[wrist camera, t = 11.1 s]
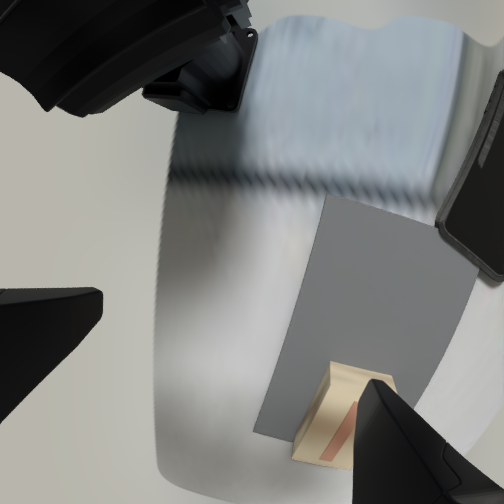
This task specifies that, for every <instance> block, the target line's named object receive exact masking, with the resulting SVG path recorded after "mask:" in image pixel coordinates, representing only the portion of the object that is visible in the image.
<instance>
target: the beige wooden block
mask: <svg viewBox="0 0 504 504" xmlns="http://www.w3.org/2000/svg"><path fill="white" fill-rule="evenodd" d="M372 378H374V379H379V380H383V381H384V382H385V383H386V384H387V385H388V386H389V387H391V388H392V389H393V390H394V391H395V392H396V393H397V391H396V387H395V384H394V381H393V378H392V376H391V375H386V374H382V373H377V372H373V371H369V370H365V369H360V368H356V367H352V366H348V365H344V364H340V363H336V362H332V361H330V363H329V365H328V367H327V370H326V372H325V374H324V376H323V378H322V381H321V383H320V385H319V387H318V389H317V391H316V394H315V396H314V398H313V400H312V402H311V404H310V406H309V408H308V410H307V412H306V414H305V416H304V418H303V420H302V422H301V424H300V426H299V428H298V430H297V432H296V434H295V440H294V446H293V452H292V458H291V459H293V460H298V461H302V462H307V463H312V464H317V465H322V466H327V467H333V468H339V469H345V470H351V469H352V468H353V443H354V434H355V425H356V415H357V405H358V401H359V399H360V397H361V395H362V393H363V391H364V389H365V387H366V385H367V383H368V381H369V380H370V379H372Z"/></svg>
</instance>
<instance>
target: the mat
mask: <svg viewBox="0 0 504 504" xmlns="http://www.w3.org/2000/svg"><path fill="white" fill-rule="evenodd" d="M479 269H480V267H479V266H477V265H476V264H475V263H474V262H473V261H472V260H470V259H469V258H468V257H467V256H466V255H464V254H463V253H462V252H461V251H459V250H458V249H457V248H456V247H454V246H453V245H452V244H451V243H449V242H448V241H447V240H446V239H444V238H443V236H442V235H441V234H440V231H439V229H438V228H435V227H432V226H430V225H427V224H424V223H421V222H418V221H415V220H412V219H409V218H406V217H403V216H400V215H397V214H394V213H391V212H388V211H384V210H381V209H378V208H375V207H372V206H368V205H365V204H362V203H358V202H355V201H351V200H348V199H345V198H341V197H338V196H334V195H330V194H327V195H326V199H325V203H324V207H323V211H322V215H321V219H320V222H319V226H318V230H317V234H316V237H315V241H314V244H313V248H312V252H311V255H310V259H309V262H308V266H307V269H306V273H305V276H304V279H303V283H302V286H301V290H300V293H299V296H298V300H297V303H296V306H295V309H294V313H293V316H292V319H291V322H290V325H289V328H288V332H287V335H286V338H285V341H284V344H283V347H282V350H281V353H280V356H279V359H278V362H277V365H276V368H275V371H274V374H273V377H272V380H271V382H270V385H269V388H268V391H267V394H266V397H265V399H264V402H263V405H262V408H261V411H260V413H259V416H258V419H257V421H256V424H255V427H254V430H253V432H256V433H260V434H263V435H267V436H271V437H274V438H278V439H282V440H286V441H290V442H294V440H295V434H296V432H297V430H298V428H299V426H300V424H301V422H302V420H303V418H304V416H305V414H306V412H307V410H308V408H309V406H310V404H311V402H312V400H313V398H314V396H315V394H316V391H317V389H318V387H319V385H320V383H321V381H322V378H323V376H324V374H325V372H326V370H327V367H328V365H329V363H330V361H332V362H336V363H340V364H344V365H348V366H352V367H356V368H360V369H365V370H369V371H373V372H377V373H382V374H386V375H391V376H392V378H393V381H394V384H395V387H396V391H397V394H398V395H399V396H400V397H401V398H402V399H403V400H404V401H405V402H406V403H407V404H408V405H409V406H410V407H411V408H412V409H414V407H415V405H416V404H417V402H418V401H419V399H420V397H421V396H422V394H423V392H424V391H425V389H426V387H427V385H428V384H429V382H430V380H431V378H432V376H433V375H434V373H435V371H436V369H437V367H438V365H439V363H440V361H441V359H442V358H443V356H444V354H445V352H446V350H447V347H448V345H449V343H450V341H451V339H452V337H453V335H454V333H455V330H456V328H457V326H458V324H459V321H460V319H461V317H462V314H463V312H464V310H465V307H466V305H467V302H468V300H469V297H470V294H471V292H472V289H473V286H474V284H475V281H476V278H477V275H478V272H479Z"/></svg>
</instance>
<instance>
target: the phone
mask: <svg viewBox="0 0 504 504" xmlns="http://www.w3.org/2000/svg"><path fill="white" fill-rule="evenodd" d="M435 226H436V228H438V229H439V231H440V234H441V235H442V236H443V238H444V239H446V240H447V241H448V242H449V243H451V244H452V245H453V246H454V247H456V248H457V249H458V250H459V251H461V252H462V253H463V254H464V255H466V256H467V257H468V258H469V259H470V260H472V261H473V262H474V263H475V264H476V265H477V266H479V267H480V269H481V270H482V271H483V272H485V273H486V274H487V275H488V276H489V277H490V278H492V279H494V280H495V281H497V282H503V281H504V70H502V71H501V72H499V74H498V77H497V80H496V83H495V86H494V89H493V91H492V94H491V96H490V99H489V102H488V104H487V107H486V109H485V113H484V116H483V119H482V121H481V124H480V126H479V128H478V131H477V133H476V136H475V138H474V140H473V143H472V145H471V147H470V149H469V152H468V154H467V156H466V158H465V160H464V162H463V165H462V167H461V169H460V171H459V173H458V175H457V177H456V179H455V181H454V183H453V185H452V187H451V189H450V191H449V193H448V195H447V197H446V199H445V200H444V202H443V204H442V206H441V208H440V210H439V212H438V213H437V216H436V220H435Z"/></svg>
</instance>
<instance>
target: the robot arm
mask: <svg viewBox="0 0 504 504" xmlns="http://www.w3.org/2000/svg"><path fill="white" fill-rule="evenodd" d="M248 1H249V0H0V72H2V73H3V74H5V75H7V76H9V77H11V78H12V79H14V80H15V81H17V82H18V83H20V84H21V85H22V86H23V87H24V88H25V89H26V90H28V91H29V92H30V93H31V94H32V95H33V96H34V98H35V99H36V100H37V102H38V103H39V104H40V106H41V107H42V108H43V109H44V110H45V111H46V112H49V111H50V110H51V109H52V108H53V107H55V106H57V107H58V108H60V109H62V110H64V111H65V112H67V113H69V114H72V115H75V116H78V117H82V118H83V117H85V116H87V115H88V114H97V113H103V112H104V111H105V110H107V109H109V108H110V107H112V106H113V105H115V104H116V103H118V102H119V101H121V100H122V99H124V98H125V97H127V96H129V95H130V94H132V93H133V92H135V91H137V90H138V89H140V88H143V91H142V96H143V97H144V98H145V99H147V100H150V101H152V102H154V103H156V104H159V105H161V106H163V107H165V108H167V109H170V110H172V111H179V112H188V113H196V114H205V113H207V111H208V110H213V111H221V112H227V113H234V112H236V111H237V110H238V109H239V106H240V102H241V98H242V94H243V91H244V87H245V83H246V79H247V75H248V72H249V68H250V64H251V61H252V57H253V53H254V50H255V46H256V43H257V39H258V34H257V32H256V30H255V29H252V28H247V27H249V26H251V23H250V21H249V19H248V18H250V17H252V16H251V13H250V10H249V8H248V5H247V3H248ZM249 34H253V36H251V37H247V36H248V35H249ZM232 102H233V103H234V106H233V107H232V108H229V107H228V105H229V104H230V103H232ZM102 314H103V293H102V291H100V290H98V289H96V288H94V287H79V288H24V289H23V288H20V289H0V424H1V423H2V421H3V420H4V419H5V418H6V417H7V416H8V415H9V414H10V413H11V412H12V411H13V410H14V409H15V408H16V407H17V406H18V405H19V403H20V402H22V401H23V399H24V398H25V397H26V396H27V395H28V394H29V393H30V392H31V391H32V390H33V389H34V388H35V387H36V386H37V385H38V384H39V383H40V382H41V381H42V380H43V379H44V378H45V377H46V376H47V375H48V374H49V373H50V372H51V371H52V370H53V369H55V368H56V366H58V365H59V364H60V362H61V361H62V360H64V359H65V358H66V357H67V356H68V355H69V354H70V353H71V352H72V351H73V350H74V349H75V348H76V347H77V346H78V345H79V344H80V342H81V341H82V340H83V339H84V338H85V336H87V334H88V333H89V332H90V331H91V330H92V328H93V327H94V326H95V325H96V324H97V322H98V321H99V320H100V319H101V317H102ZM352 504H504V489H503V488H502V487H500V486H499V485H497V484H496V483H495V482H494V481H492V480H491V479H490V478H489V477H487V476H486V475H485V474H483V473H482V472H481V471H480V470H479V469H477V468H476V467H475V466H474V465H472V464H471V463H470V462H469V461H468V460H466V459H465V458H464V457H463V456H462V455H461V454H460V453H459V452H457V451H456V450H455V449H454V448H453V447H452V446H451V445H450V444H449V443H448V442H446V440H445V439H444V438H443V437H442V436H441V435H440V434H438V433H437V432H436V431H435V430H434V429H433V428H432V427H431V426H430V425H429V424H428V423H427V422H426V421H425V420H424V419H423V418H422V417H421V416H420V415H419V414H418V413H417V412H416V411H414V410H413V409H412V408H411V407H410V406H409V405H408V404H407V403H406V402H405V401H404V400H403V399H402V398H401V397H400V396H399V395H398V394H397V393H396V392H395V391H394V390H393V389H392V388H391V387H389V386H388V385H387V384H386V383H385V382H384V381H383V380H379V379H374V378H372V379H370V380H369V381H368V383H367V385H366V387H365V389H364V391H363V393H362V395H361V397H360V399H359V401H358V405H357V415H356V425H355V434H354V443H353V496H352Z"/></svg>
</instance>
